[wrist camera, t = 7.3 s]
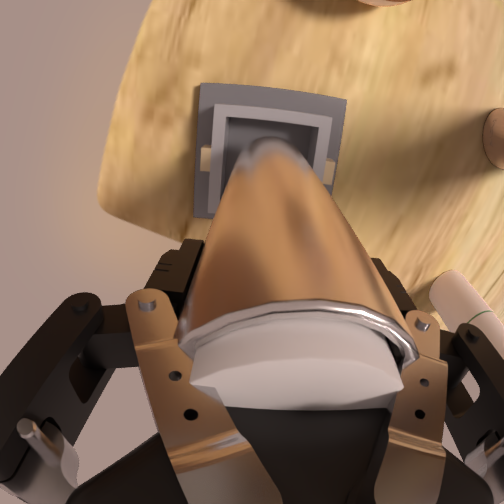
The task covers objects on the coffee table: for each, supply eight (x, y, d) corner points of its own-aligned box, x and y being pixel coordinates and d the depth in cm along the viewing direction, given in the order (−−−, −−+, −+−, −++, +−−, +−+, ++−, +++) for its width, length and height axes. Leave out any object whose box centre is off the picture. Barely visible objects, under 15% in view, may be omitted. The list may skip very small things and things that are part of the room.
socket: (343, 99, 31) (357, 100, 26) (322, 225, 38) (330, 245, 33) (203, 83, 30) (193, 80, 26) (195, 212, 38) (186, 230, 33)
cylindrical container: (434, 312, 45) (497, 429, 23) (424, 285, 42) (499, 412, 20) (466, 290, 43) (539, 398, 21) (458, 262, 40) (547, 375, 18)
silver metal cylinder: (279, 214, 30) (307, 491, 8) (222, 179, 28) (118, 440, 6) (318, 161, 27) (477, 393, 5) (260, 122, 26) (254, 270, 4)
